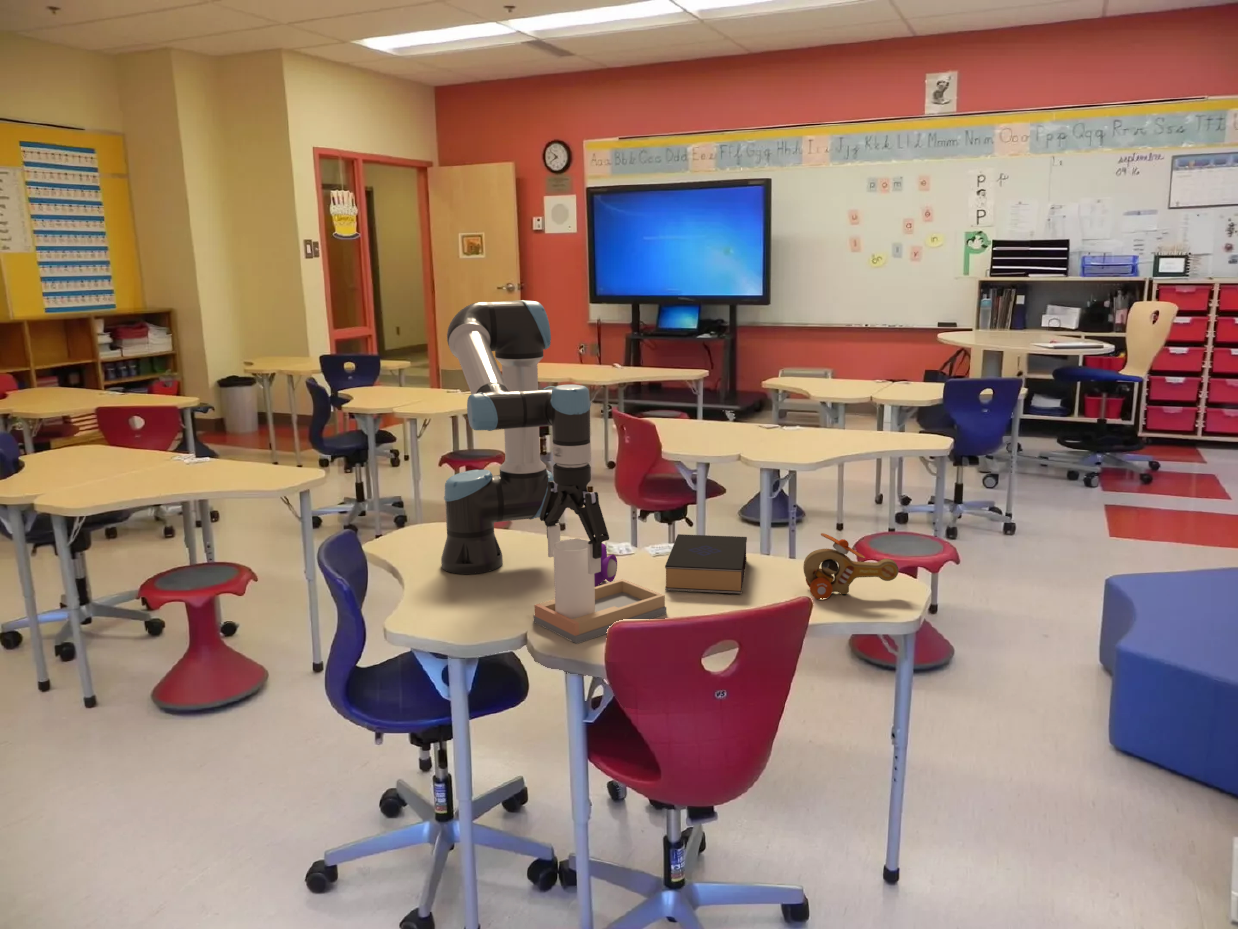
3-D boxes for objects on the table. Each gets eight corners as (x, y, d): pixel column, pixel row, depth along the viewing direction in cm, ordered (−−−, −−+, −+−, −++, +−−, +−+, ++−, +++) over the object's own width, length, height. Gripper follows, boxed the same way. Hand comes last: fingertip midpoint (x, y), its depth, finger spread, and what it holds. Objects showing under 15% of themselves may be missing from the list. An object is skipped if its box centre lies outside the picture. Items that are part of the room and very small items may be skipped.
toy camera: (613, 594, 212) (612, 552, 210) (555, 591, 215) (553, 549, 213) (622, 578, 222) (622, 538, 220) (567, 575, 225) (565, 535, 223)
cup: (555, 612, 198) (553, 539, 194) (594, 610, 198) (592, 538, 195) (556, 627, 190) (553, 551, 186) (596, 625, 190) (594, 549, 187)
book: (746, 562, 234) (747, 536, 233) (741, 597, 210) (742, 569, 209) (677, 559, 237) (677, 534, 236) (665, 593, 213) (664, 565, 212)
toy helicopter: (800, 587, 214) (802, 530, 211) (892, 588, 213) (895, 530, 210) (805, 600, 206) (807, 540, 203) (900, 601, 205) (904, 541, 202)
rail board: (533, 622, 196) (533, 604, 195) (621, 595, 211) (621, 578, 210) (576, 643, 185) (576, 624, 184) (666, 613, 200) (666, 595, 199)
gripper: (521, 455, 194) (524, 552, 199) (595, 478, 175) (597, 584, 180) (550, 450, 198) (553, 545, 203) (626, 471, 180) (627, 575, 185)
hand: (573, 564), depth 192 cm, fingers open, 13 cm apart
